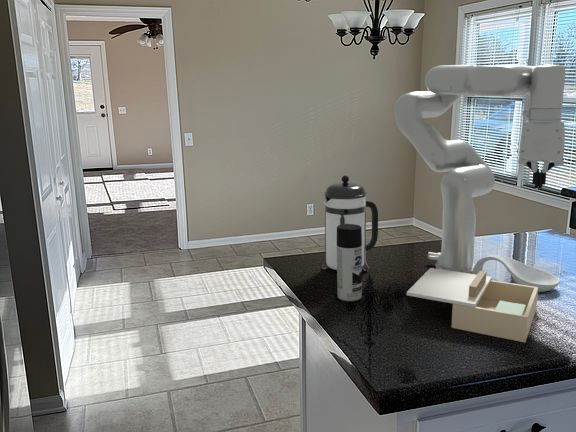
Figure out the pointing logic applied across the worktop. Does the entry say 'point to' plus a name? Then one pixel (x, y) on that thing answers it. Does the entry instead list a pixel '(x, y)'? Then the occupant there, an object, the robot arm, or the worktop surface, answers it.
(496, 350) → the worktop surface
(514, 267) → the spoon rest
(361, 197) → the coffee press
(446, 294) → the lid
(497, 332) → the box
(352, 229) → the spray can
